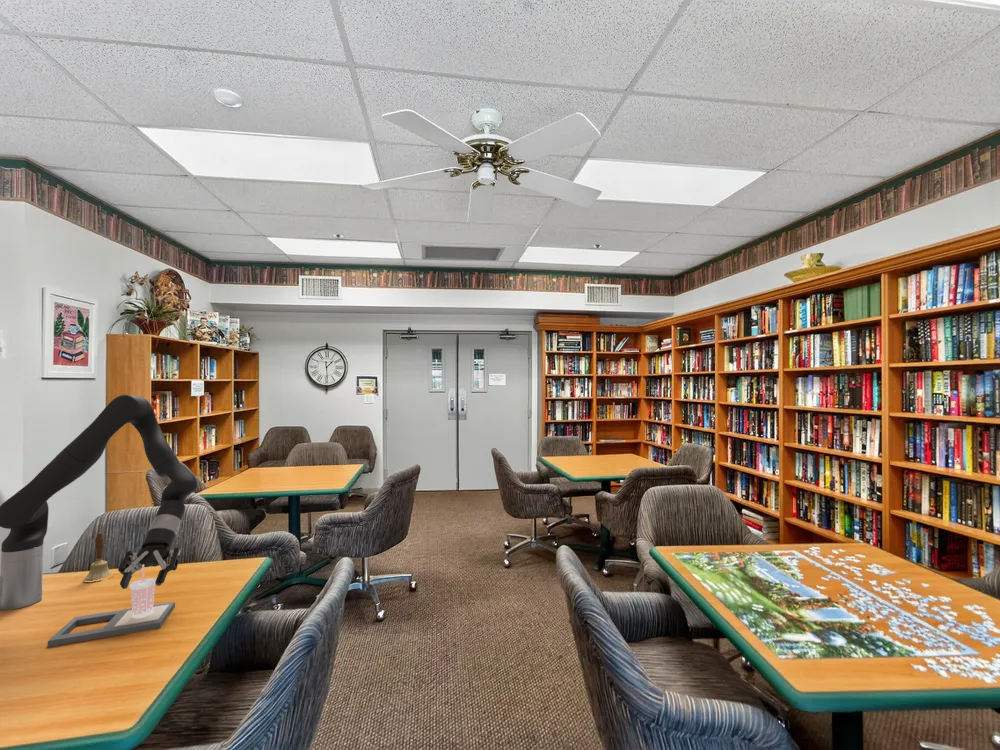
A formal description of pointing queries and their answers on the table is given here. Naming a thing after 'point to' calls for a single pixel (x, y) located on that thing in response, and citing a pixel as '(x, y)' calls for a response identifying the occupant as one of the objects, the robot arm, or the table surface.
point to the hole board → (112, 624)
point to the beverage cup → (142, 596)
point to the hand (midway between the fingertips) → (140, 586)
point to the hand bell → (98, 562)
